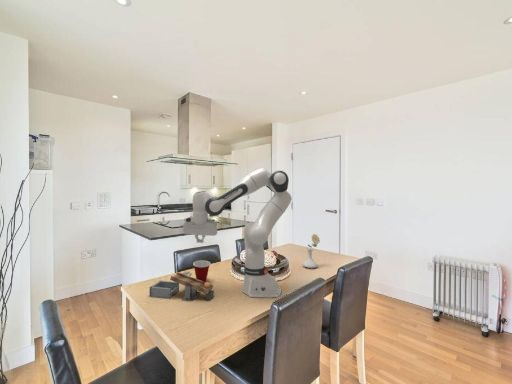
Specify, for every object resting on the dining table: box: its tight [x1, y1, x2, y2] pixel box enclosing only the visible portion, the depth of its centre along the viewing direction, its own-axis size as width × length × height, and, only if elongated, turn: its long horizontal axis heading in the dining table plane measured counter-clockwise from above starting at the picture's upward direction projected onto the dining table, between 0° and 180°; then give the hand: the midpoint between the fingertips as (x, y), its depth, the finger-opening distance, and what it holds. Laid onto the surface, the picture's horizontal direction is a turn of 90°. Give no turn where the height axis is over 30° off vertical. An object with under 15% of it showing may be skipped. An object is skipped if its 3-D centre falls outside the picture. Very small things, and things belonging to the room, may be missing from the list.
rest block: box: [205, 289, 215, 301], centre depth 137 cm, size 2×5×3 cm, turn 169°
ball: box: [204, 281, 211, 289], centre depth 137 cm, size 3×3×3 cm
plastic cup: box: [192, 260, 211, 282], centre depth 160 cm, size 11×11×12 cm
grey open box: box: [149, 280, 180, 299], centre depth 142 cm, size 12×10×5 cm
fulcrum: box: [181, 285, 202, 302], centre depth 139 cm, size 6×11×8 cm, turn 169°
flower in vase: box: [301, 233, 320, 269], centre depth 192 cm, size 13×11×25 cm
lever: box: [170, 270, 214, 295], centre depth 142 cm, size 22×14×2 cm, turn 79°
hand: (200, 242), depth 149 cm, fingers closed
